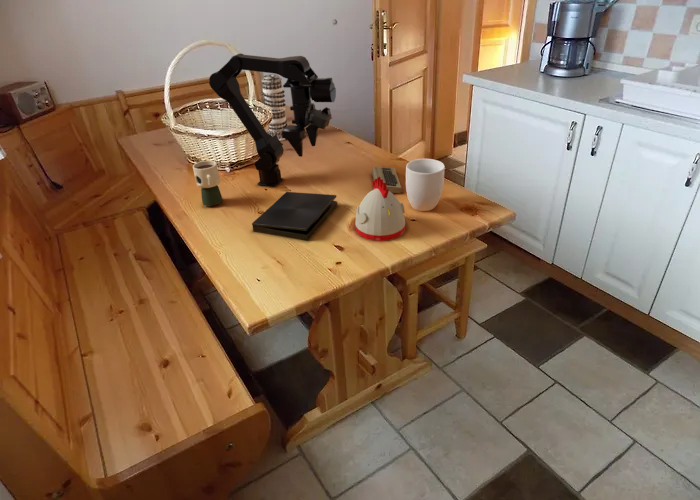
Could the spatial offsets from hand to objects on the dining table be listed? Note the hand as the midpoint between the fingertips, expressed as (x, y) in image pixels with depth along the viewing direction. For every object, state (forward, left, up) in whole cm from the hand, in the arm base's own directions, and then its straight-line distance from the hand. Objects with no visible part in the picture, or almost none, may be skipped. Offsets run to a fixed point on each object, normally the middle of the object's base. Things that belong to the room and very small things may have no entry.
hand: (307, 151), depth 151 cm
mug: (+39, -3, -12) cm, 41 cm away
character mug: (-24, -21, -12) cm, 34 cm away
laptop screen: (+6, -22, -10) cm, 25 cm away
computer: (+24, +8, -12) cm, 28 cm away
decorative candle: (-33, +39, -12) cm, 53 cm away
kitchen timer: (+31, -20, -12) cm, 39 cm away
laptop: (+6, -22, -12) cm, 25 cm away
